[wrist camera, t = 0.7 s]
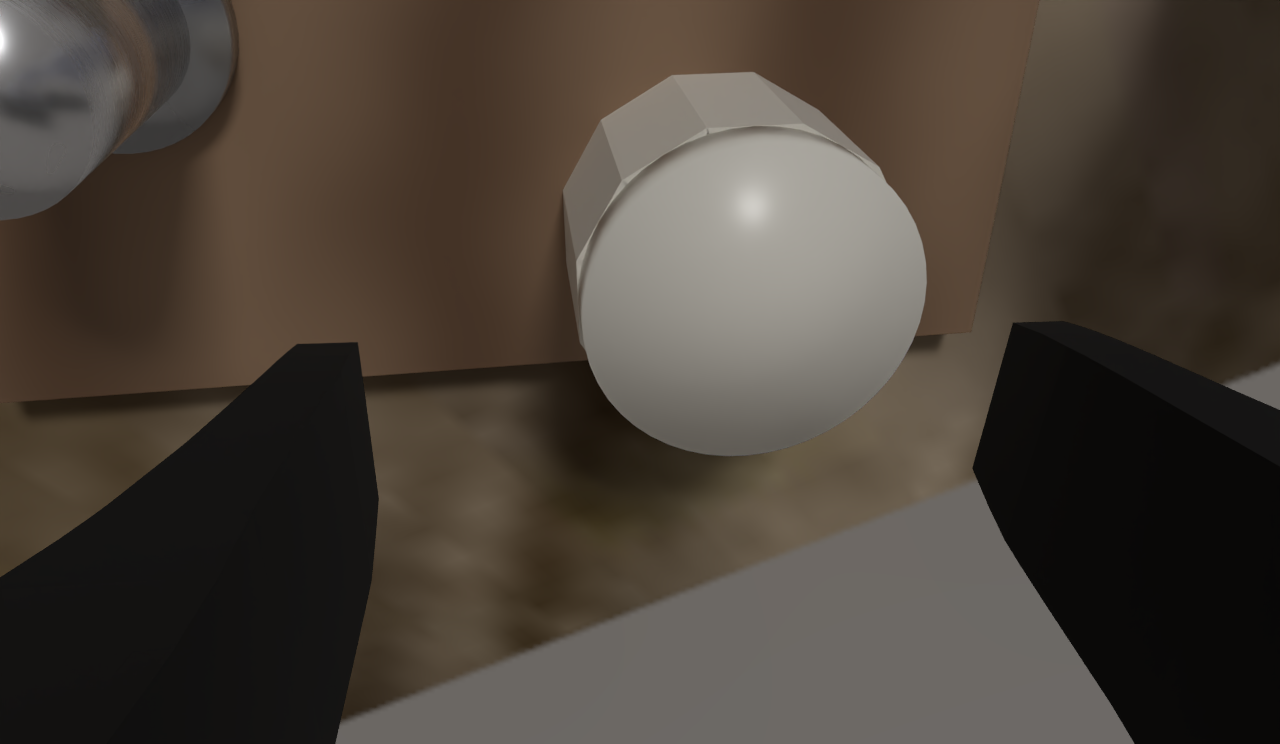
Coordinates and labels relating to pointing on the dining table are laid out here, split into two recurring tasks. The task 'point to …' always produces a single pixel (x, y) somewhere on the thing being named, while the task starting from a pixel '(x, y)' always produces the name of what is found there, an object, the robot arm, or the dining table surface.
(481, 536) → the dining table surface
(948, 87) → the post board
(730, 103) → the cap
